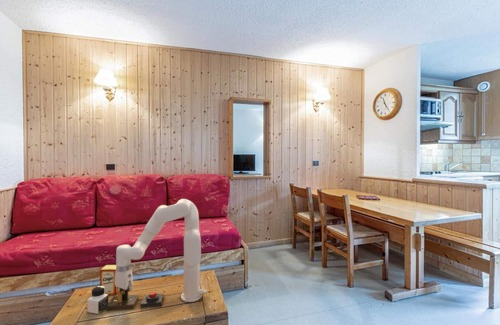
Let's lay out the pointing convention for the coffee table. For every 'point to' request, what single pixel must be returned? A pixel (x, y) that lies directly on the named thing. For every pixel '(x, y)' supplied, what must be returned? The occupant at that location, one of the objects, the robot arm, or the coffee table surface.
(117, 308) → the plate
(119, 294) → the orange block red tip
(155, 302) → the box
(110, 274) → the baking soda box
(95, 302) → the medicine bottle
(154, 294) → the door button
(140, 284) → the coffee table surface
